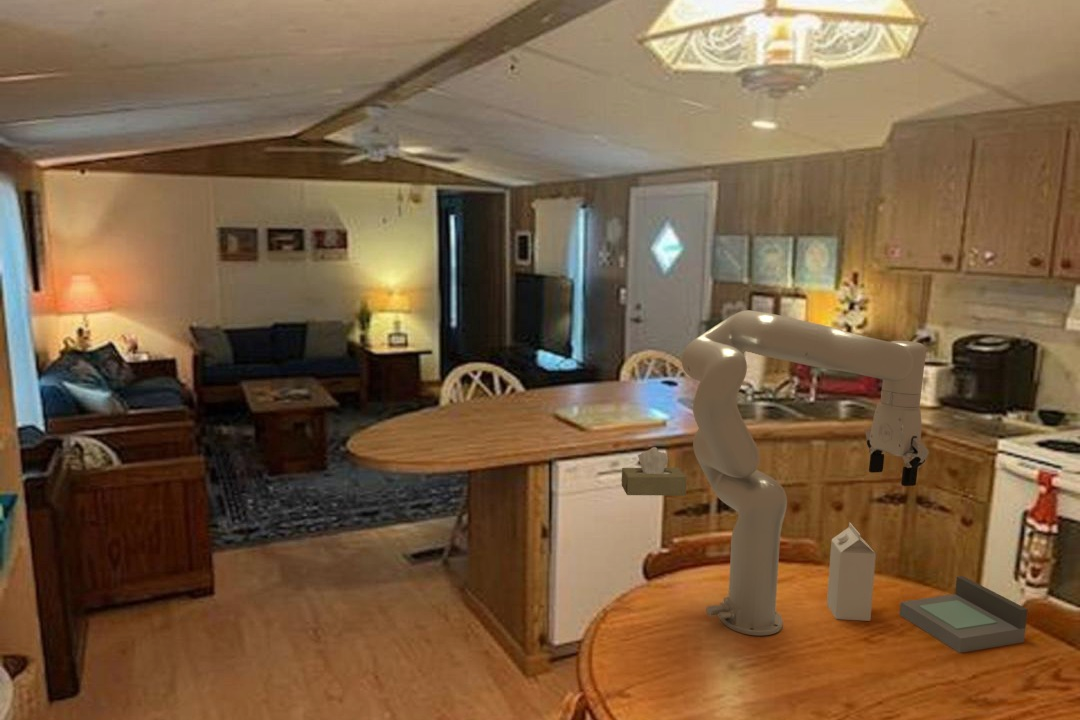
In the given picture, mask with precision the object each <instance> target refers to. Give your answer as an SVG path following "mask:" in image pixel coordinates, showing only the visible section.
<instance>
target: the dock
mask: <svg viewBox="0 0 1080 720" xmlns="http://www.w3.org/2000/svg"><path fill="white" fill-rule="evenodd" d="M955 583H956V584H955V591H954V593H953V594H949V595H948V594H947V595H940V596H932V597H926V598H919V599H913V600H912V599H911V600H905V601H900V605H899V607H900V608H899V616H900V617H902V618H904V620H907V621H908V622H910V624H913V625H915V626H917V627H918V629H921V630H922V631H924V632H926V633H927V634H929V635H930V636H932V637H934V638H936V639H937V640H938V641H940V642H941V643H943V644H944V645H946V646H948V647H949V648H951V649H953V650H954V651H956V652H957V653H958V654H960V653H966V652H967V653H968V652H974V651H979V650H985V649H992V648H997V647H1003V646H1008V645H1016V644H1021V643H1024V642H1025V638H1026V637H1025V636H1026V627H1027V626H1026V625H1027V618H1028V608H1026V607H1024V606H1022V605H1020V604H1019V603H1016V602H1014V600H1013V601H1012V600H1010V599H1008V598H1007V597H1004V596H1003V595H1001V594H1000V593H997V592H995V591H993V590H991V589H989V588H987V587H985V586H983V585H982V584H979V583H978V582H976V581H974V580H971V579H969V578H968V577H966V576H963V575H960V576H956V582H955Z"/></svg>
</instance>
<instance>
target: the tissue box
mask: <svg viewBox="0 0 1080 720" xmlns="http://www.w3.org/2000/svg"><path fill="white" fill-rule="evenodd" d="M637 458H638V460H639V464H640V467H622V468H621V486H622V489H623V491H624V492H625V494H626V495H627V496H673V497H675V496H683V497H684V496H686V495H687V476H686V475H685V473H684V472H683V471H682V470H681V468H680V467H667V464H668V460H669V457H668V455H667V453H666V452H664V451H663V452H661V451H659V449H658V448H657V447H654V446H653V447H651V448H650V449H648V450H647V451H645V450H644V451H643V452H642V453H640V454H637Z"/></svg>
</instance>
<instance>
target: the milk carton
mask: <svg viewBox="0 0 1080 720" xmlns="http://www.w3.org/2000/svg"><path fill="white" fill-rule="evenodd" d="M830 542H831V543H830V544H831V545H830V553H829V555H830V558H829V567H828V584H827V585H828V586H827V597H826V605H827V607H828V608H829V610H830V612H831V613H832V615H833V617H834V618H835V620H844V621H845V620H847V621H848V620H849V621H862V622H864V621H865V622H867V621H868V622H870V621H871V618H872V617H871V616H872V605H873V595H874V594H873V593H874V583H875V582H874V580H875V578H874V577H875V571H876V569H875V568H876V555H877V553H876V552H875V551H874V550H873V549H872V547H871V546H870V545H869V544H868V543H867V541H866V540H864V539H863V538H862V537H861V533H860V532H859V531H858V530H857V529H856V527H855V526H853V524H852V523H851V522H848V527H846V529H844V530H843V531H841V532H840V533H839V534H836V536H833V538H831V541H830Z"/></svg>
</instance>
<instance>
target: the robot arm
mask: <svg viewBox="0 0 1080 720" xmlns="http://www.w3.org/2000/svg"><path fill="white" fill-rule="evenodd" d="M745 352H747V353H752V354H755V355H758V356H761V357H767V358H772V359H776V360H781V361H786V362H791V363H796V364H799V365H805V366H808V367H809V366H810V367H814V368H818V369H823V370H830V371H831V370H832V371H838V372H839V371H840V372H845V373H851V374H857V375H862V376H866V377H869V378H870V377H871V378H874V379H875V378H876V379H880V380H882V383H881V391H880V395H881V396H880V402H877V405H876V408H875V411H874V414H873V417H872V418H873V419H872V424H871V429H868V430H867V429H866V431H865V432H864V433H865V438H866V445H867V447H868V453H869V454H870V456H869V463H868V464H869V465H868V473H872V474H873V473H882V472H883V471H884V461H885V454H884V453H886V454H889V455H892V456H896V457H902V460H903V462H904V465H905V466H903V467H902V474H901V480H900V481H901V482H900V483H901V486H904V487H911V486H912V487H913V486H916V484H917V478H918V477H917V476H918V470H919V469H920V468H921V466H922V465H923V464H924V463H925V462H926V459H927V457H928V456H929V455H930V450H929V449H928V448H927V447H926V446H925V445H924V444H923V442H922V441H921V440H922V414H921V413H922V412H921V411H922V410H921V409H920V406H921V398H922V389H923V382H924V372H925V364H926V363H925V362H926V355H927V354H926V353H927V349H926V347H925V345H924V344H923V343H921V342H916V341H910V340H909V341H908V340H892V341H888V340H887V341H886V340H882V339H878V338H874V337H869V336H864V335H860V334H857V333H853V332H849V331H846V330H842V329H839V328H834V327H832V326H829V325H824V324H819V323H815V322H810V321H805V320H802V319H797V318H792V317H787V316H784V315H779V314H775V313H769V312H765V311H764V312H763V311H756V310H748V309H747V310H741V311H739V312H737V313H734V314H732V315H730V316H729V317H727V318H726V319H724V320H722V321H721V322H719V323H718V324H715V326H713V327H712V328H710V329H708V330H707V331H705V332H703V333H702V334H700V335H699V336H697V337H696V338H694V339H693V340H692V341H691V342H689V343H688V344H687V345H686V347H685V348H684V350H683V352H682V355H681V366H682V369H683V371H684V372H685V374H686V375H688V377H689V378H692V379H693V380H695V381H697V382H699V383H698V386H697V389H696V392H695V395H694V399H693V403H692V404H693V405H692V412H693V413H692V414H693V418H694V420H695V423H696V425H697V427H698V429H697V430H696V432H695V434H694V435H693V436H694V437H693V443H692V446H693V447H692V448H693V452H694V456H695V458H696V461H697V463H698V464H699V466H700V468H701V470H702V472H703V474H704V476H705V477H706V480H707V481H708V483H709V485H710V487H711V488H712V491H714V494H715V495H716V496H717V498H718V499H719V500H720V501H722V503H724V504H725V505H727V506H728V507H730V508H731V509H733V510H734V511H735V512H737V513H738V515H737V520H736V522H735V524H734V527H733V529H732V532H731V537H730V538H731V539H730V540H731V541H730V560H729V561H730V563H729V578H728V579H729V581H728V582H729V583H728V595H727V596H725V597H723V602H720V603H719V604H715V605H707V606H706V614H707V616H708V617H710V616H718V619H719V620H720V622H721V623H722V624H723V625H724V626H725V627H727V628H729V629H730V630H733V632H734V631H735V632H737V633H740V634H745V635H749V636H757V637H758V636H761V637H762V636H763V637H764V636H770V635H774V634H776V633H778V632H780V631H781V630H782V629H783V621H784V620H783V617H782V616H781V615H780V613H779V612H777V611H776V610H777V608H776V607H777V595H778V593H777V591H778V590H777V589H778V578H779V577H778V576H779V575H778V574H779V559H780V543H781V534H782V527H783V522H784V519H785V517H786V512H787V507H788V498H787V497H788V496H787V494H786V493H787V492H786V491H785V489H784V487H783V486H782V485H781V483H779V482H778V481H777V480H776V479H775V478H773V477H772V476H769V474H768V475H767V474H766V473H764V472H762V471H761V470H758V468H759V465H760V460H761V459H760V451H759V449H758V446H757V444H756V442H755V440H754V438H753V436H752V434H751V432H750V430H749V428H748V427H747V425H746V422H745V421H744V419H743V417H742V415H741V412H740V410H739V407H738V395H739V391H740V389H741V387H742V384H743V382H744V381H745V378H746V376H747V371H748V364H747V359H746V357H745V355H744V353H745ZM910 458H911V459H910ZM918 468H919V469H918Z"/></svg>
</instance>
